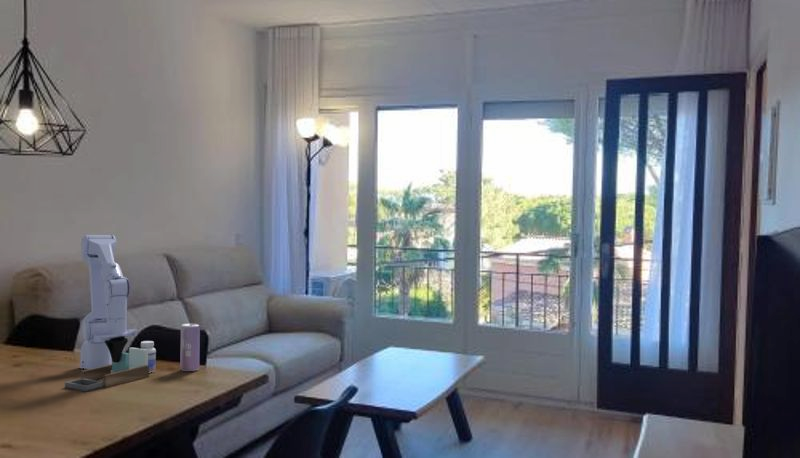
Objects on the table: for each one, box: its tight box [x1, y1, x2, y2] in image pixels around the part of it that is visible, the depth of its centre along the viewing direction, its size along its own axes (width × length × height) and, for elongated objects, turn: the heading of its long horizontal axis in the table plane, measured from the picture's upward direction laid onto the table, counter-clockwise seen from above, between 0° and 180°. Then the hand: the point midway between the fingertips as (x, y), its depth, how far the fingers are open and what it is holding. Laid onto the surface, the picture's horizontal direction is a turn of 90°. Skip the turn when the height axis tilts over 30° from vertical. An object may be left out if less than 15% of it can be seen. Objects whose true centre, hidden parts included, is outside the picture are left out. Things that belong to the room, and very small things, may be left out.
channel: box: [80, 363, 150, 388], centre depth 203 cm, size 11×16×4 cm
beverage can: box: [179, 323, 201, 372], centre depth 218 cm, size 6×6×15 cm
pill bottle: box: [139, 340, 157, 374], centre depth 214 cm, size 5×5×10 cm
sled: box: [111, 347, 148, 373], centre depth 208 cm, size 7×8×8 cm
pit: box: [64, 378, 105, 393], centre depth 194 cm, size 9×6×2 cm, turn 63°
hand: (115, 362), depth 203 cm, fingers closed
